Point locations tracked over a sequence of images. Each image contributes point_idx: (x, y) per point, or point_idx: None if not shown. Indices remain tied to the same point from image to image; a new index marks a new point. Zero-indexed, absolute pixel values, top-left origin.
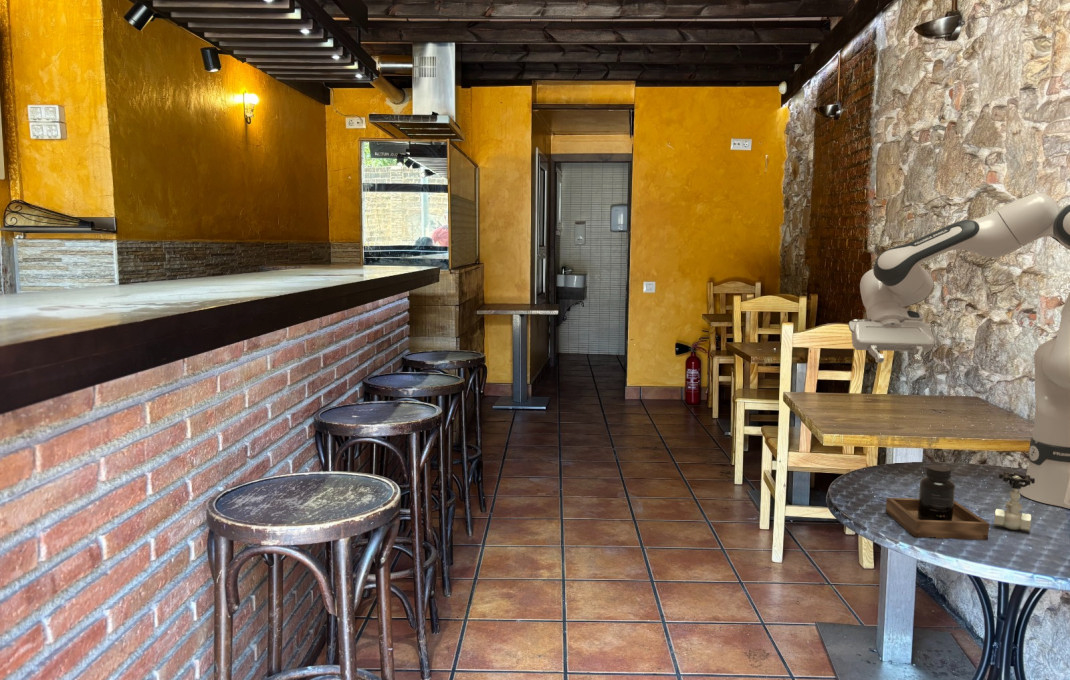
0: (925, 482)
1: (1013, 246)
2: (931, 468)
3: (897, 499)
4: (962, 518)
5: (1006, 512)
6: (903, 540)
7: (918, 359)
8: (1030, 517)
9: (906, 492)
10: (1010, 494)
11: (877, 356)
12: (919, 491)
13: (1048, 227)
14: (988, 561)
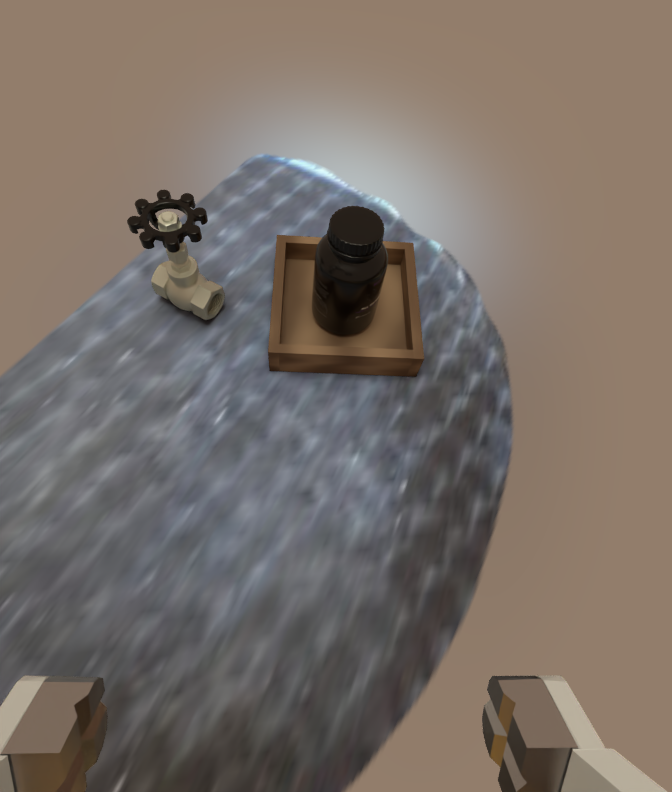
0: (384, 247)
1: None
2: (377, 222)
3: (403, 349)
4: (282, 312)
5: (199, 280)
6: (431, 254)
7: (59, 678)
8: (165, 262)
9: (300, 525)
10: (186, 253)
11: (581, 715)
12: (382, 283)
13: None
14: (329, 191)
